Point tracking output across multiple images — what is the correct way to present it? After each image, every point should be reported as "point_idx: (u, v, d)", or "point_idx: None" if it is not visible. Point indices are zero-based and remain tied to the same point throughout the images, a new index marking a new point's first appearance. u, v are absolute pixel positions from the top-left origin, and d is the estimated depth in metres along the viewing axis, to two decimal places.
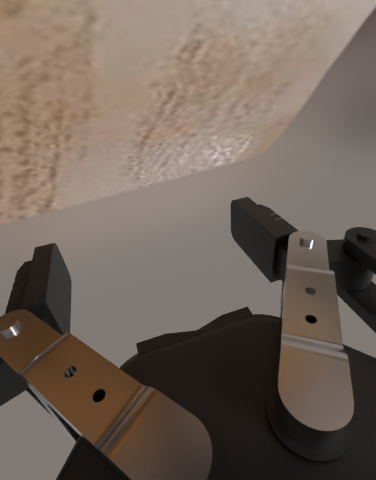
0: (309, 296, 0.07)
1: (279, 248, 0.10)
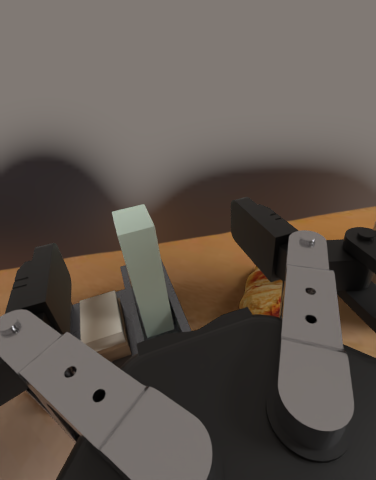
0: (310, 296, 0.07)
1: (279, 248, 0.10)
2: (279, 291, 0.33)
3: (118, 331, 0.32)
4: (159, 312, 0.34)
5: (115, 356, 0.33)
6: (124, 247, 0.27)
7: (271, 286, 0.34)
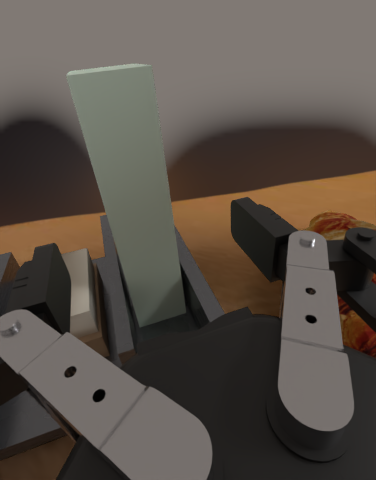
0: (309, 296, 0.07)
1: (279, 248, 0.10)
2: None
3: (83, 310, 0.17)
4: (160, 279, 0.19)
5: None
6: (84, 113, 0.12)
7: None
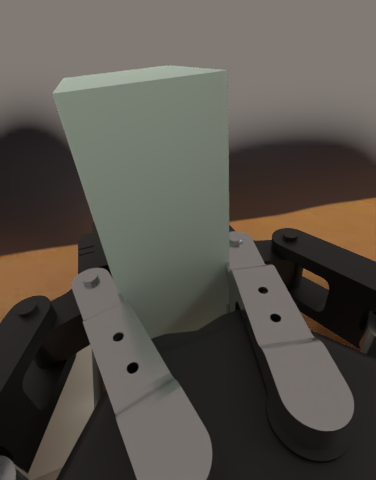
0: (264, 296, 0.07)
1: None
2: None
3: None
4: None
5: None
6: (90, 167, 0.06)
7: None
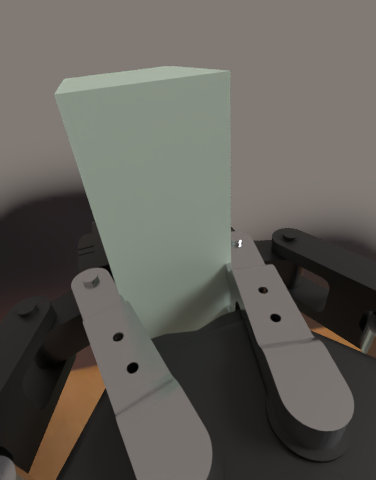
0: (264, 296, 0.07)
1: None
2: None
3: None
4: None
5: None
6: (92, 168, 0.06)
7: None
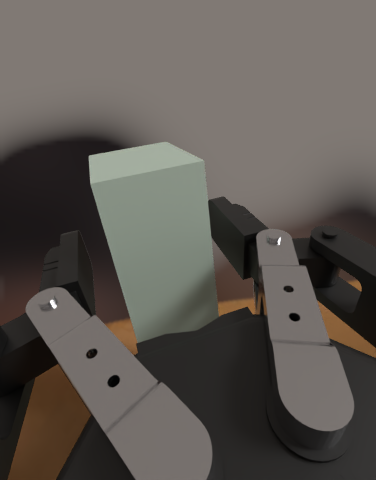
0: (288, 294, 0.07)
1: (249, 246, 0.11)
2: None
3: None
4: None
5: None
6: (112, 226, 0.09)
7: None
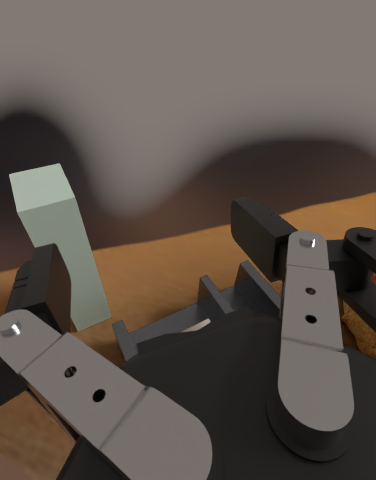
0: (310, 297, 0.07)
1: (279, 248, 0.10)
2: None
3: None
4: (91, 302, 0.27)
5: None
6: (30, 228, 0.19)
7: None
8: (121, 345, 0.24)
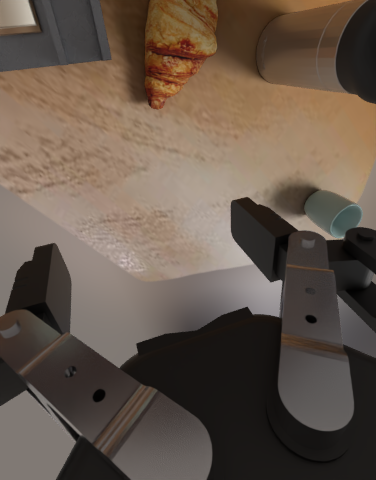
0: (309, 296, 0.07)
1: (279, 248, 0.10)
2: (186, 31, 0.34)
3: (30, 22, 0.30)
4: None
5: (25, 33, 0.33)
6: None
7: (185, 16, 0.34)
8: None
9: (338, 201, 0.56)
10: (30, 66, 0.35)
